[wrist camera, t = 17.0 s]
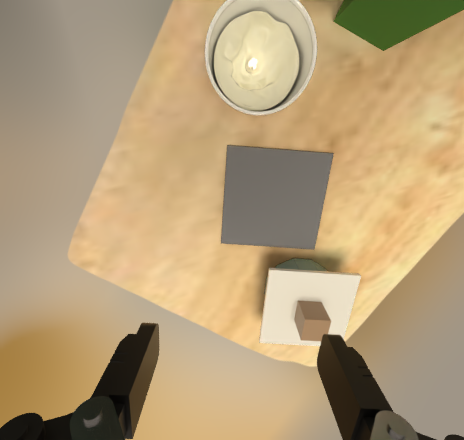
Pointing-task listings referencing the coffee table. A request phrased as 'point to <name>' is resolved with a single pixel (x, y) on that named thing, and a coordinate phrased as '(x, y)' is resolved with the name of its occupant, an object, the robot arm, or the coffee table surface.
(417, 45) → the coffee table surface
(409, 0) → the hardback book
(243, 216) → the rubber mat
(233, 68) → the candle holder
